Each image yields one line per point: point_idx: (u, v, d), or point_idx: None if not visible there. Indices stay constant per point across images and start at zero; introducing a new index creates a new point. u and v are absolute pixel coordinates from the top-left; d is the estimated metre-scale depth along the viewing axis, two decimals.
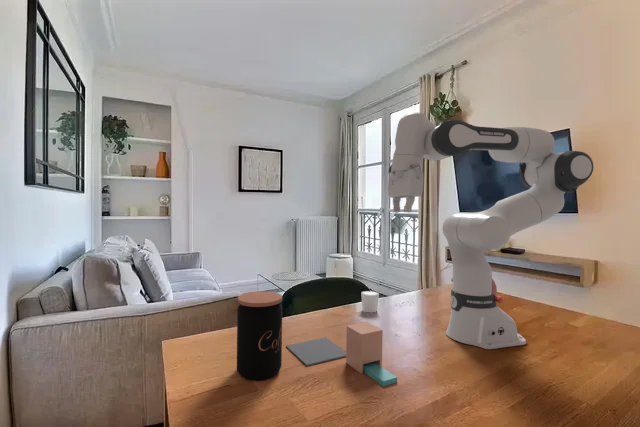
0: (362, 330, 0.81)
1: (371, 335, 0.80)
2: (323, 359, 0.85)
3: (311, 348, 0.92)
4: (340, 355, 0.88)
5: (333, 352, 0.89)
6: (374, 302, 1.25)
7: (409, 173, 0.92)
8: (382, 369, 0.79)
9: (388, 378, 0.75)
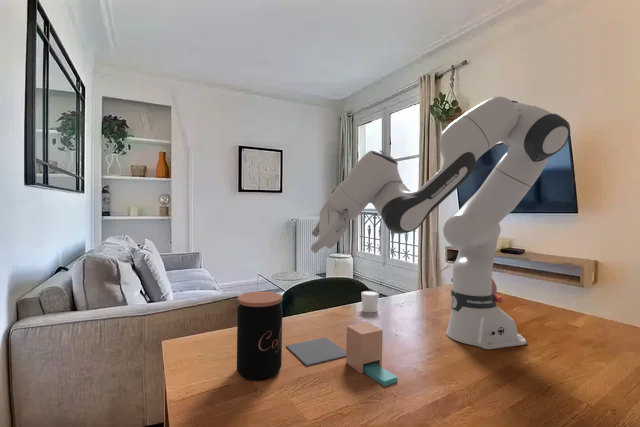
0: (362, 330, 0.81)
1: (371, 335, 0.80)
2: (323, 359, 0.85)
3: (311, 348, 0.92)
4: (340, 355, 0.88)
5: (333, 352, 0.89)
6: (374, 302, 1.25)
7: (333, 219, 0.78)
8: (382, 369, 0.79)
9: (389, 378, 0.75)
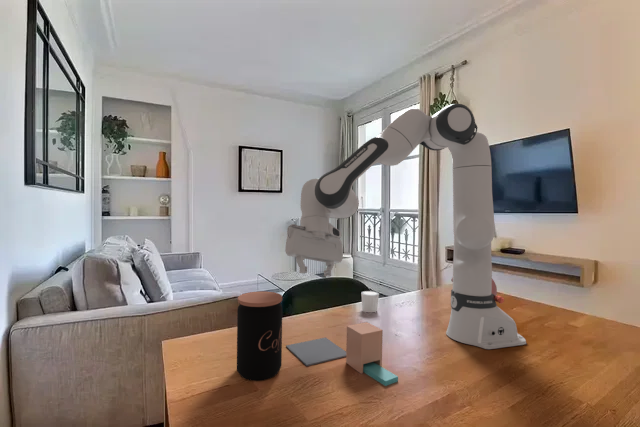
0: (362, 330, 0.81)
1: (371, 335, 0.80)
2: (323, 359, 0.85)
3: (311, 348, 0.92)
4: (340, 355, 0.88)
5: (333, 352, 0.89)
6: (374, 302, 1.25)
7: None
8: (382, 369, 0.79)
9: (390, 378, 0.75)
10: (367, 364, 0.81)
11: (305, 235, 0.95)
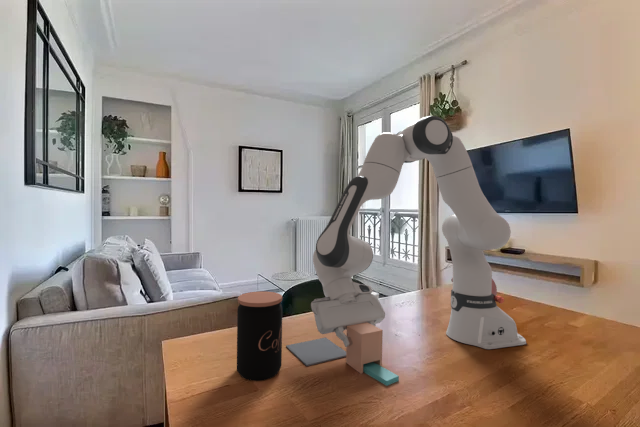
0: (362, 330, 0.81)
1: (371, 335, 0.80)
2: (323, 359, 0.85)
3: (311, 348, 0.92)
4: (340, 355, 0.88)
5: (333, 352, 0.89)
6: None
7: None
8: (382, 368, 0.79)
9: (391, 378, 0.75)
10: (367, 364, 0.81)
11: (332, 304, 0.87)
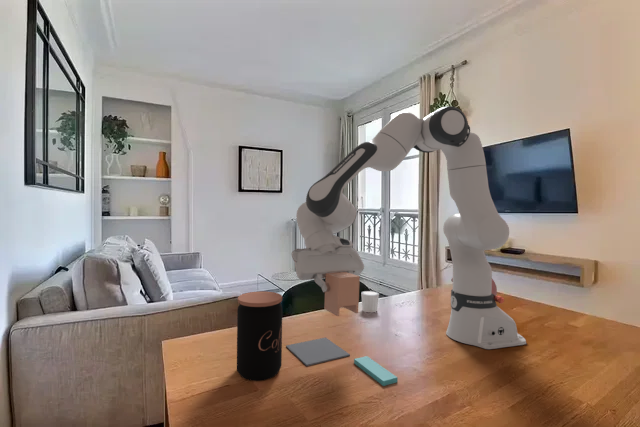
0: (340, 276, 0.84)
1: (348, 280, 0.83)
2: (323, 359, 0.85)
3: (311, 348, 0.92)
4: (340, 355, 0.88)
5: (333, 352, 0.89)
6: (374, 302, 1.25)
7: None
8: (383, 369, 0.79)
9: (388, 378, 0.75)
10: (369, 363, 0.82)
11: (312, 254, 0.90)
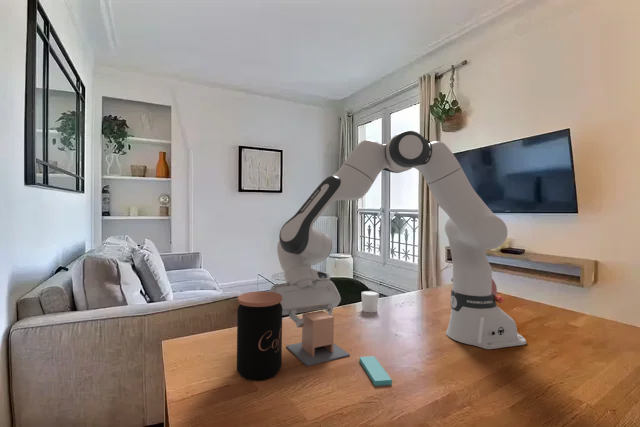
0: (315, 317, 0.89)
1: (322, 321, 0.88)
2: (323, 359, 0.85)
3: None
4: (340, 355, 0.88)
5: (333, 352, 0.89)
6: (374, 302, 1.25)
7: None
8: (382, 370, 0.78)
9: (382, 379, 0.74)
10: (371, 363, 0.82)
11: (289, 289, 0.94)
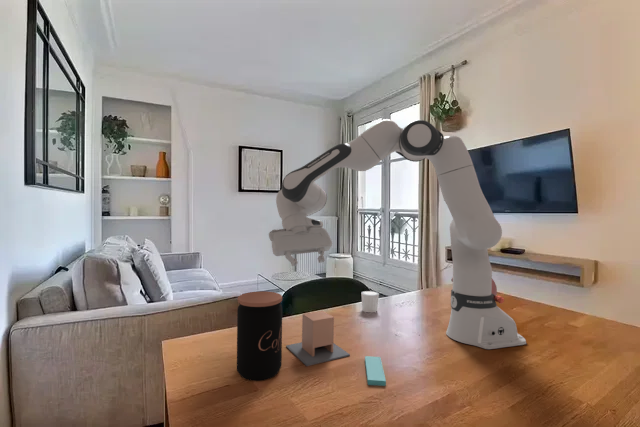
0: (315, 317, 0.89)
1: (322, 321, 0.88)
2: (323, 359, 0.85)
3: None
4: (340, 355, 0.88)
5: (333, 352, 0.89)
6: (374, 302, 1.25)
7: None
8: (381, 371, 0.78)
9: (375, 379, 0.74)
10: (373, 363, 0.82)
11: (285, 234, 1.06)
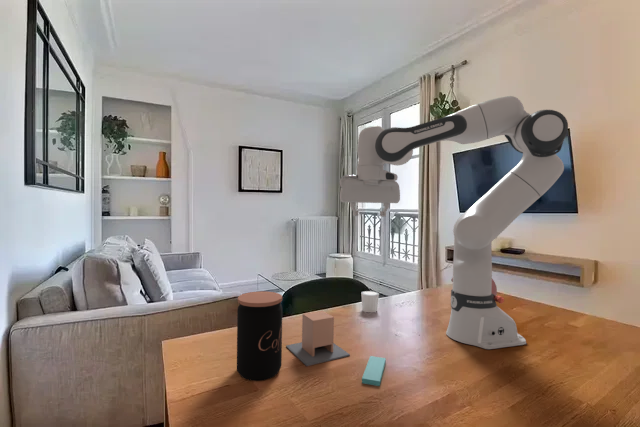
0: (315, 317, 0.89)
1: (322, 321, 0.88)
2: (323, 359, 0.85)
3: None
4: (340, 355, 0.88)
5: (333, 352, 0.89)
6: (374, 302, 1.25)
7: None
8: (379, 371, 0.78)
9: (370, 378, 0.74)
10: (375, 363, 0.82)
11: (355, 184, 1.09)
